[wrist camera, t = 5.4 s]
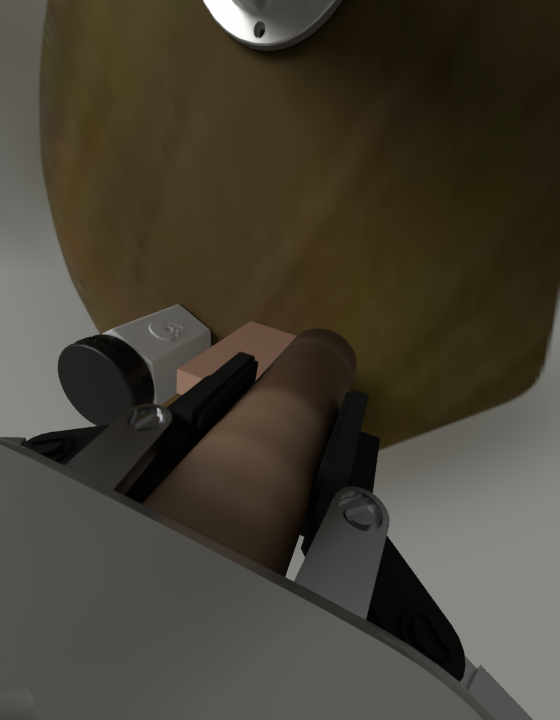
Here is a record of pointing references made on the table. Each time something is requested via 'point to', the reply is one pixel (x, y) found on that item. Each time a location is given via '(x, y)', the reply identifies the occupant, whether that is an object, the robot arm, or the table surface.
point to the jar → (130, 363)
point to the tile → (246, 339)
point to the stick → (264, 454)
